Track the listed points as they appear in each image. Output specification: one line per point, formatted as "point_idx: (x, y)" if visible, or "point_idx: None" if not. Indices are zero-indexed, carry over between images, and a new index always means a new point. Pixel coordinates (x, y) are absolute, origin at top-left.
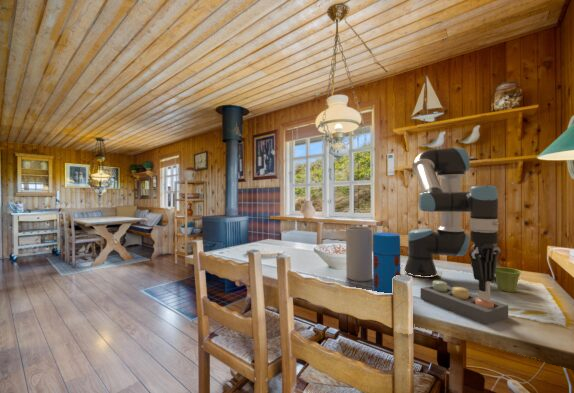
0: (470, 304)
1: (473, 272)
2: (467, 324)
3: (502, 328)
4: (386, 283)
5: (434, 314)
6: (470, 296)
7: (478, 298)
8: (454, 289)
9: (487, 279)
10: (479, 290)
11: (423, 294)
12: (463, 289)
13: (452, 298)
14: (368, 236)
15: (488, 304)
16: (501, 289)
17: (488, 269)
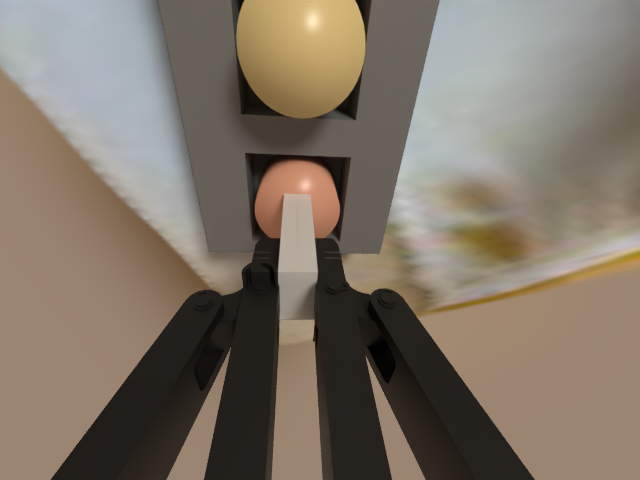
0: (218, 171)
1: (146, 356)
2: (140, 185)
3: (246, 253)
4: None
5: (30, 24)
6: (358, 94)
7: (298, 182)
8: (240, 22)
9: (315, 318)
10: (282, 224)
11: None
12: (317, 72)
13: (190, 46)
14: None
15: (274, 235)
16: None
17: (320, 417)
